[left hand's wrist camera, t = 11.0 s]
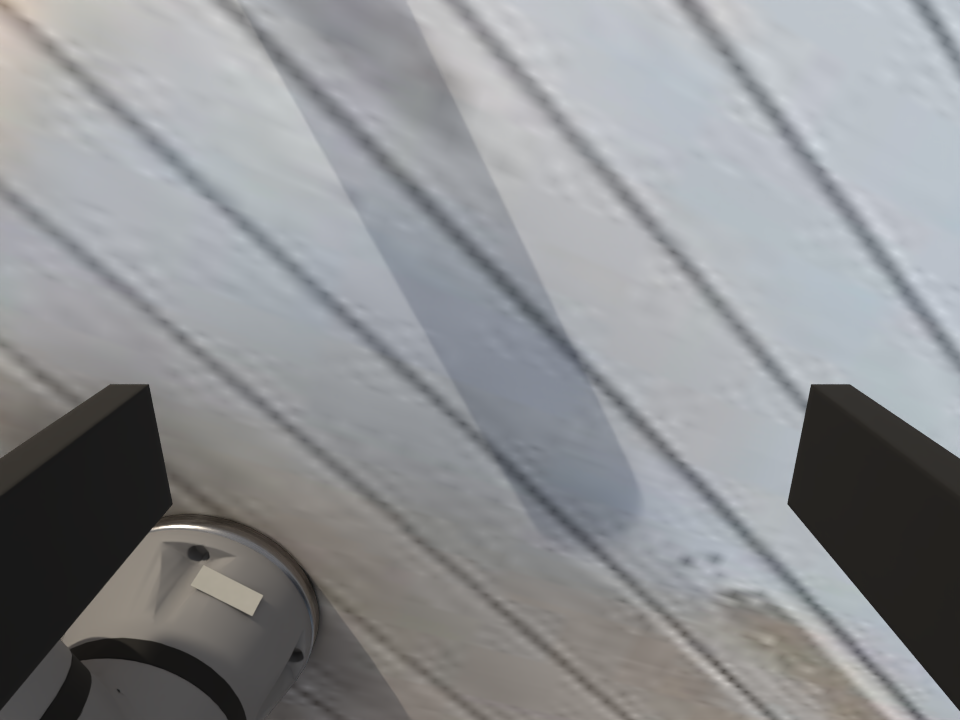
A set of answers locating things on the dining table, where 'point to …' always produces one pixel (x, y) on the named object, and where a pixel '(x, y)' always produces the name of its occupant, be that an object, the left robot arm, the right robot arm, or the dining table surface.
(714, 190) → the dining table surface
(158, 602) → the left robot arm
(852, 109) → the dining table surface
